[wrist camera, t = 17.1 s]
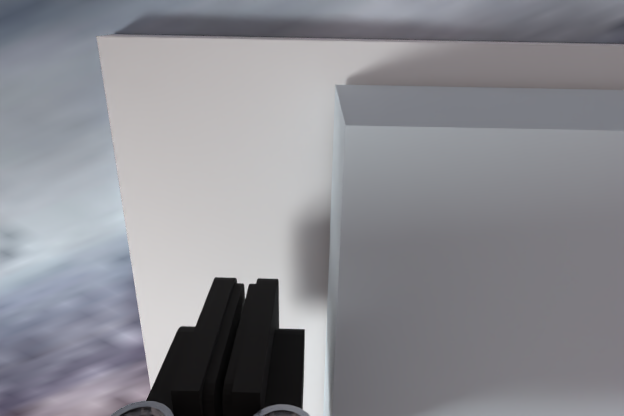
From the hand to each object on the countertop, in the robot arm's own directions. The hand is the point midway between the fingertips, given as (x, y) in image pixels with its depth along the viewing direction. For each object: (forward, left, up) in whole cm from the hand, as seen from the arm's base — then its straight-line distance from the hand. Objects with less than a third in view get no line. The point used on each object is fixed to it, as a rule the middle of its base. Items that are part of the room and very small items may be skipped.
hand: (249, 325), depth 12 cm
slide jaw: (+7, 0, -2) cm, 8 cm away
